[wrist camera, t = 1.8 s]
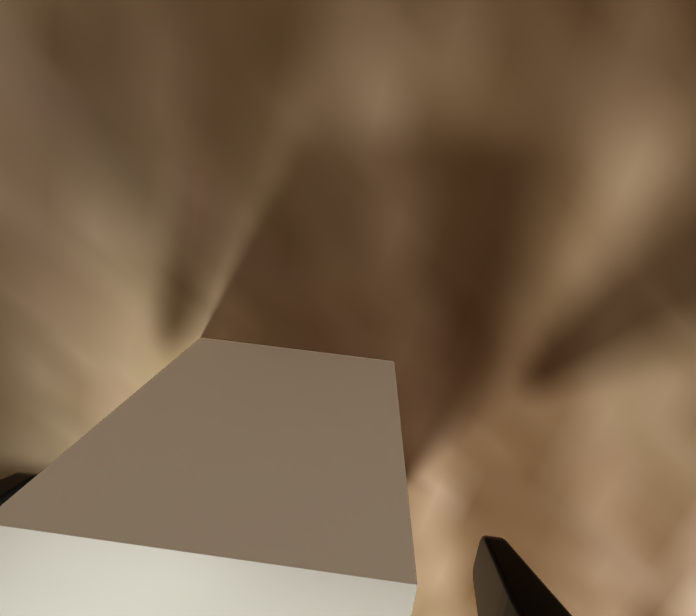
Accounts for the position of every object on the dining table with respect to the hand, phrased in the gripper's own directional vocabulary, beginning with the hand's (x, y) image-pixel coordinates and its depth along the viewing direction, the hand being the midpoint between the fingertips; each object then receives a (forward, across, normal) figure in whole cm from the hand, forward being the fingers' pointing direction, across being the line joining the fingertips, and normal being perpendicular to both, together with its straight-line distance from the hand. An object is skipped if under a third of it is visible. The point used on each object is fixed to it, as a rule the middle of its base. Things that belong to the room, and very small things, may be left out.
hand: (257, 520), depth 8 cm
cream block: (+3, 0, 0) cm, 3 cm away
